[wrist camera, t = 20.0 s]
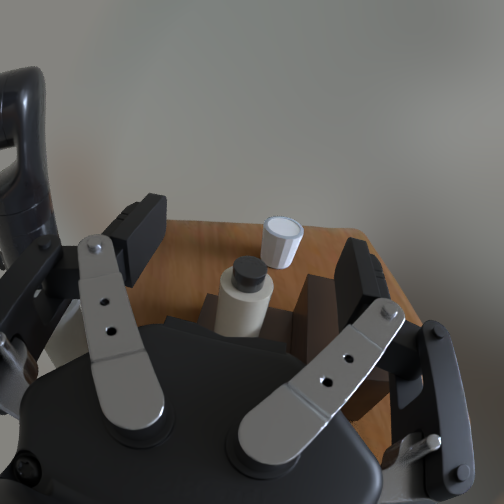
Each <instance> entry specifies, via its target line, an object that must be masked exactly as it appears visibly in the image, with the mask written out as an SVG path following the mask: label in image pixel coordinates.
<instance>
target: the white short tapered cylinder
mask: <svg viewBox="0 0 504 504" xmlns="http://www.w3.org/2000/svg"><path fill="white" fill-rule="evenodd" d="M303 232H304V229H303V228H302V226H301V225H300V224H299V223H298V222H296V221H295V220H293V219H291V218H288V217H283V216H273V217H269V218H267V219H266V220H265V222H264V226H263V237H262V247H261V260H262V261H263V262H264V263H265V264H266V265H267V266H269V267H271V268H275V269H284V268H286V267H288V266H289V265H290V264H291V262H292V259H293V257H294V255H295V252H296V250H297V248H298V245H299V243H300V241H301V238H302V236H303Z"/></svg>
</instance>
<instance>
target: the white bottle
mask: <svg viewBox="0 0 504 504" xmlns="http://www.w3.org/2000/svg"><path fill="white" fill-rule="evenodd" d="M273 287H274V286H273V281H272V279H271V278H270V276H269V275H268V274H267V266H266V264H265V263H264V262H263V261H262V260H261V259H259V258H256V257H253V256H242V257H239V258H237V259H236V260H235V261H234V264H233V266H232V267H230V268H228V269H226V270H225V271H224V272H223V274H222V275H221V278H220V286H219V293H218V301H217V309H216V317H215V325H214V332H215V333H217V334H220V335H222V336H225V337H259V335H260V332H261V328H262V325H263V322H264V318H265V315H266V312H267V309H268V305H269V302H270V299H271V295H272V292H273Z"/></svg>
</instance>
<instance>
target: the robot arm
mask: <svg viewBox="0 0 504 504" xmlns="http://www.w3.org/2000/svg"><path fill="white" fill-rule="evenodd" d="M45 108H46V90H45V80H44V76H43V73H42V71H41V70H40V68H38V67H35V66H31V67H25V68H20V69H16V70H11V71H7V72H3V73H0V150H2V149H7V148H11V147H17V159H16V161H15V162H13V163H12V164H11V165H10V166H8V167H7V168H5V169H4V170H2V171H1V172H0V249H1V251H0V269H1V270H5V269H6V270H7V271H6V272H5V274H4V275H3V276H2V277H1V279H0V415H6V414H9V415H11V416H13V417H14V418H16V419H18V420H19V422H20V423H19V424H20V430H19V442H18V448H17V452H16V454H15V457H14V458H13V460H12V461H11V463H10V464H9V465H8V466H7V468H6V469H5V470H4V471H3V472H2V473H1V474H0V504H436V503H439V502H442V501H445V500H448V499H451V498H454V497H456V496H459V495H461V494H464V493H465V492H467V491H468V490H469V489H470V488H471V486H472V484H473V481H474V478H475V467H474V454H473V445H472V437H471V429H470V422H469V416H468V410H467V405H466V399H465V394H464V389H463V384H462V380H461V375H460V371H459V367H458V363H457V359H456V355H455V351H454V348H453V344H452V340H451V337H450V334H449V332H448V331H447V329H446V328H445V327H444V326H443V325H442V324H440V323H439V322H437V321H433V320H428V321H426V322H425V323H424V324H423V325H422V327H419V326H417V325H415V324H413V323H411V322H409V321H407V320H405V314H404V312H403V310H402V308H401V307H400V306H399V305H398V304H397V303H395V302H394V301H392V300H391V298H390V294H389V290H388V287H387V283H386V280H385V276H384V273H383V270H382V266H381V263H380V262H379V260H378V259H377V258H376V257H375V255H373V254H370V253H369V250H368V246H367V243H366V241H363V240H359V239H355V238H351V237H349V238H348V239H347V241H346V244H345V246H344V249H343V251H342V253H341V256H340V258H339V261H338V263H337V265H336V269H335V274H334V282H335V292H336V303H337V314H338V327H339V335H338V336H337V337H336V338H335V339H334V340H333V341H332V342H331V343H330V344H329V345H328V346H327V347H325V348H324V349H323V350H322V351H321V352H320V353H319V354H318V355H317V356H316V357H315V358H314V359H313V360H312V361H311V362H310V363H309V364H308V365H306V364H305V363H303V362H302V361H301V360H299V359H298V358H297V357H295V356H293V355H291V354H289V353H287V352H286V345H287V343H284V342H278V341H273V340H268V339H263V338H259V337H225V336H222V335H220V334H217V333H215V332H213V331H211V330H209V329H207V328H205V327H203V326H201V325H199V324H197V323H194V322H190V321H186V320H182V319H179V318H175V317H171V316H167V317H166V320H165V322H164V324H149V325H144V326H140V327H137V324H136V321H135V318H134V315H133V312H132V309H131V305H130V302H129V299H128V295H127V292H126V288H125V286H127V287H130V288H133V286H134V284H135V283H136V281H137V279H138V278H139V276H140V274H141V273H142V271H143V270H144V268H145V266H146V265H147V263H148V262H149V260H150V259H151V257H152V255H153V254H154V252H155V251H156V249H157V248H158V246H159V245H160V243H161V242H162V240H163V238H164V235H165V232H166V211H167V209H166V208H167V199H166V196H163V195H157V194H152V193H149V194H148V195H147V196H146V197H145V198H144V199H143V200H142V201H141V202H135V203H133V204H131V205H129V206H127V207H126V208H125V209H124V210H123V211H122V212H121V214H119V215H118V217H117V218H116V219H115V220H114V221H113V222H112V223H111V224H110V225H109V226H108V227H107V228H106V230H104V232H103V233H102V234H96V235H91V236H88V237H86V238H84V239H83V240H82V241H80V242H79V244H78V246H62V245H61V241H60V238H59V234H58V230H57V225H56V221H55V215H54V210H53V205H52V199H51V193H50V186H49V179H48V170H47V156H46V143H45ZM3 263H4V264H3ZM72 299H80V301H81V308H82V315H83V321H84V327H85V333H86V339H87V344H88V349H89V352H88V353H86V354H84V355H82V356H80V357H78V358H76V359H74V360H72V361H70V362H69V363H67V364H65V365H63V366H61V367H59V368H57V369H55V370H53V371H51V372H49V373H47V374H45V375H43V376H41V377H39V378H38V379H37V376H38V365H37V363H36V362H37V360H38V358H39V357H40V355H41V353H42V351H43V349H44V347H45V345H46V344H47V342H48V340H49V338H50V336H51V335H52V333H53V331H54V329H55V328H56V326H57V324H58V323H59V321H60V319H61V317H62V316H63V314H64V312H65V311H66V309H67V308H68V306H69V304H70V303H71V301H72ZM374 366H376V367H378V368H381V369H383V370H385V371H387V372H388V376H389V389H390V406H391V434H392V445H391V446H390V447H388V448H387V449H386V451H385V452H384V454H383V458H382V463H381V465H380V464H379V462H378V460H377V459H376V457H375V456H374V455H373V453H372V452H371V451H370V449H369V448H368V447H367V445H366V444H365V443H364V441H363V440H362V439H361V437H360V436H359V435H358V433H357V432H356V430H355V429H354V428H353V426H352V425H351V424H350V422H349V421H348V420H347V418H346V417H345V416H344V414H343V413H342V411H341V410H340V409H341V408H342V406H343V405H344V404H345V403H346V402H347V400H348V399H349V398H350V397H351V396H352V394H353V393H354V392H355V391H356V389H357V388H358V387H359V386H360V384H361V383H362V382H363V381H364V379H365V378H366V377H367V375H368V374H369V373H370V371H371V370H372V369H373V367H374ZM421 375H422V376H423V383H422V376H421Z"/></svg>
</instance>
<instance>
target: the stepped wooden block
mask: <svg viewBox="0 0 504 504" xmlns="http://www.w3.org/2000/svg"><path fill="white" fill-rule="evenodd" d="M217 301H218V296H217V295H213V294H208V293H207V296H206V299H205V301H204V304H203V307H202V310H201V312H200V315H199V318H198V321H197V324H199V325H201V326H203V327H205V328H207V329H209V330H211V331H213V332H214V325H215V317H216V309H217ZM338 335H339V327H338V314H337V303H336V292H335V282H334V279H329V278H324V277H320V276H315V275H310V274H308V275H307V277H306V280H305V283H304V285H303V288H302V291H301V293H300V296H299V298H298V301H297V304H296V306H295V309H294V311H293V312H291V311H286V310H281V309H276V308H271V307H268V309H267V312H266V315H265V318H264V322H263V325H262V328H261V332H260V335H259V338H263V339H268V340H273V341H278V342H284V343H287V345H286V352H287V353H289V354H291V355H293V356H295V357H297V358H298V359H299V360H301V361H302V362H303V363H305V364H306V365H308V364H309V363H310V362H311V361H312V360H313V359H314V358H315V357H316V356H317V355H318V354H319V353H320V352H321V351H322V350H323V349H324V348H325V347H327V346H328V345H329V344H330V343H331V342H332V341H333V340H334V339H335V338H336V337H337V336H338ZM389 392H390V389H389V376H388V372H387V371H385V370H383V369H381V368H378V367H376V366H374V367H373V369H372V370H371V371H370V373H369V374H368V375H367V377H366V378H365V379H364V381H363V382H362V383H361V384H360V386H359V387H358V388H357V389H356V391H355V392H354V393H353V394H352V396H351V397H350V398H349V399H348V400H347V402H346V403H345V404H344V405H343V406H342V408H341V409H340V410H341V411H342V413H343V414H344V416H345V417H346V418H347V420H351V421H358V420H359V419H360V418H362V417H363V416H364V415H365V414H366V413H367V412H368V411H370V410H371V409H372V408H373V407H374V406H375V405H376V404H377V403H378V402H379V401H380V400H382V399H383V398H384V397H385V396H386V395H387V394H388V393H389Z"/></svg>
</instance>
